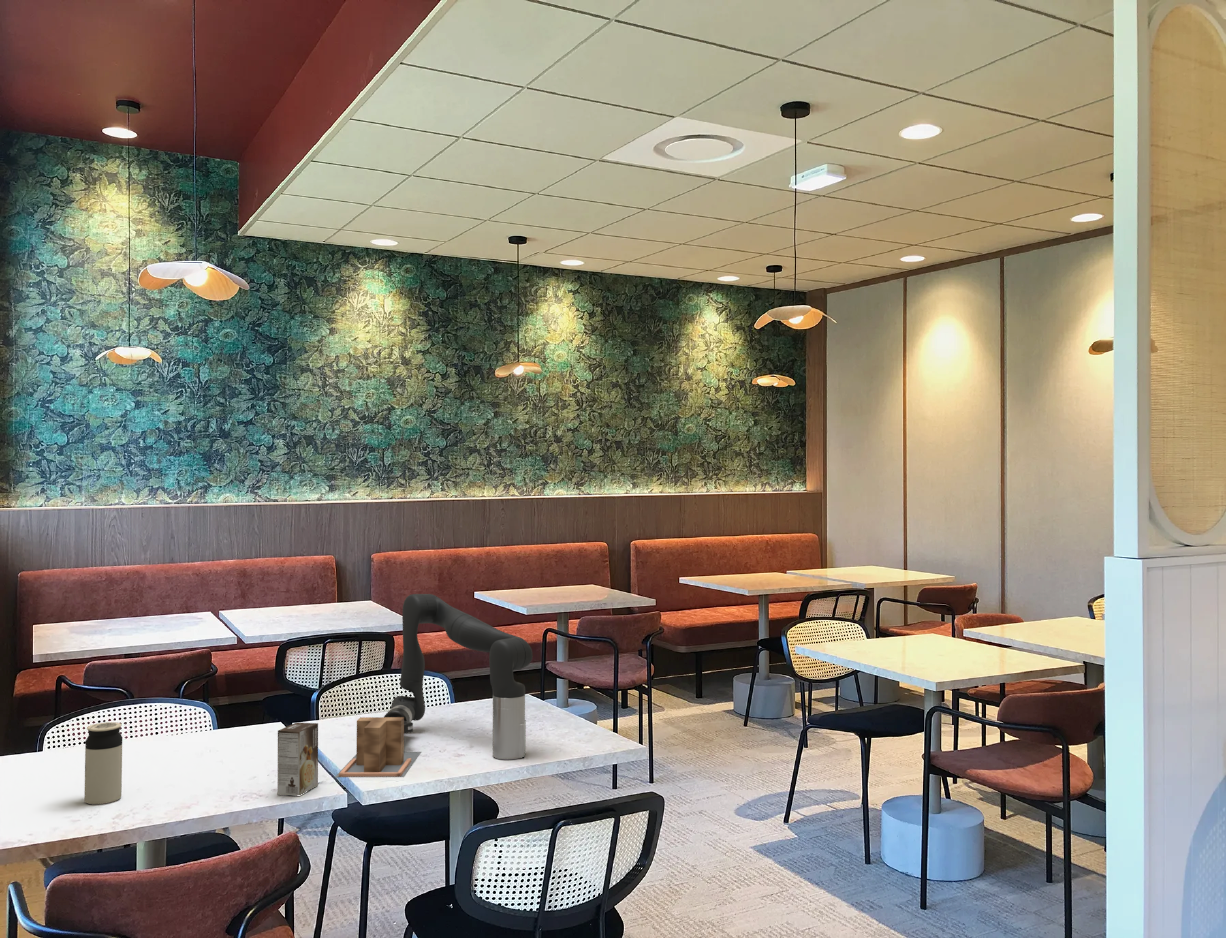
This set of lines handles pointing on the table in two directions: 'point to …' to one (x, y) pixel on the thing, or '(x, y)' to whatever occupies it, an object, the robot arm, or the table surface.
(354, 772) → the board
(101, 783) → the travel mug
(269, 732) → the table surface
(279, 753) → the coffee box
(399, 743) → the t block
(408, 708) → the robot arm
